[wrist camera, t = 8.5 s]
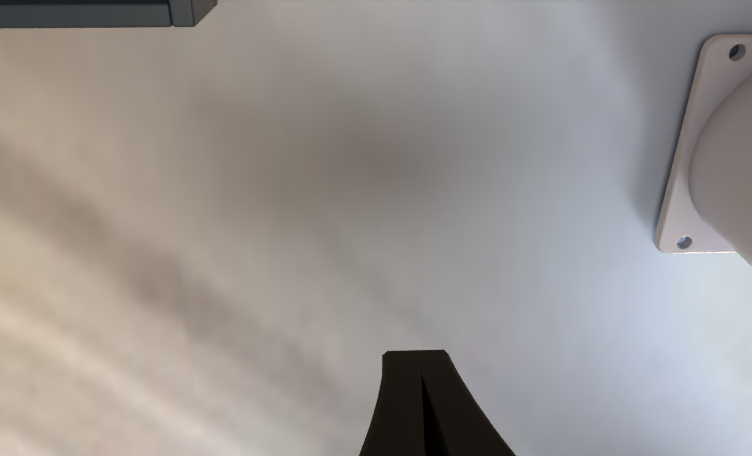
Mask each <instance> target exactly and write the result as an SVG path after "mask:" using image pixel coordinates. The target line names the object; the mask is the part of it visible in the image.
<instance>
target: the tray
mask: <svg viewBox="0 0 752 456" xmlns="http://www.w3.org/2000/svg"><path fill="white" fill-rule="evenodd" d="M216 5H217V0H0V28H123V27H171V26H174V27H194V26H196V25H197V24H198V23H199V22H200V21H201V20H202V19H203V18H204V17H205V16H206V15H207V14H208V13H209V12H210V11H211V10H212V9H213V8H214V7H215V6H216Z"/></svg>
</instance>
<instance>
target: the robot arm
mask: <svg viewBox="0 0 752 456" xmlns="http://www.w3.org/2000/svg"><path fill="white" fill-rule="evenodd" d="M735 45H739V50H738V52H737V54H736V55H734V56H733V57H731V58H729V52H730V50H731V48H733V47H734V46H735ZM683 237H686V239H685V241H683V242H682V243H679V244H677V243H678V241H679V240H680V239H681V238H683ZM654 244H655V246H656V248H657V249H658V250H659V251H660V252H662V253H664V254H689V253H731V252H737V253H738V254H739V255H740V256H741V257H742V258H743V259H744V260H746V261H747V262H748V263H749V264H750V265H751V266H752V34H720V35H715V36H713V37H711V38H709V39H708V40H707V41H706V42H705V43H704V45H703V47H702V49H701V52H700V56H699V60H698V64H697V68H696V72H695V76H694V80H693V85H692V89H691V93H690V97H689V101H688V105H687V109H686V113H685V117H684V121H683V125H682V129H681V133H680V137H679V141H678V145H677V149H676V153H675V157H674V161H673V165H672V169H671V173H670V177H669V181H668V185H667V189H666V193H665V197H664V201H663V205H662V209H661V213H660V217H659V221H658V225H657V229H656V233H655V237H654ZM359 456H516V455H515V454H514V452H513V451H512V450H511V449H510V447H509V446H508V445H507V444H506V442H505V441H504V440H503V439H502V437H501V436H500V435H499V433H498V432H497V431H496V429H495V428H494V427H493V425H492V424H491V423H490V421H489V420H488V418H487V417H486V415H485V414H484V413H483V411H482V410H481V408H480V407H479V405H478V404H477V402H476V401H475V399H474V398H473V396H472V395H471V393H470V392H469V390H468V388H467V387H466V385H465V384H464V382H463V380H462V379H461V377H460V375H459V373H458V372H457V370H456V368H455V366H454V364H453V362H452V360H451V359H450V356H449V354H448V353H447V352H446V351H445V350H411V351H387V352H386V353H385V354H383V355H382V379H381V385H380V390H379V395H378V399H377V403H376V406H375V410H374V413H373V417H372V421H371V424H370V427H369V430H368V433H367V435H366V438H365V441H364V444H363V446H362V449H361V452H360V455H359Z"/></svg>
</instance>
